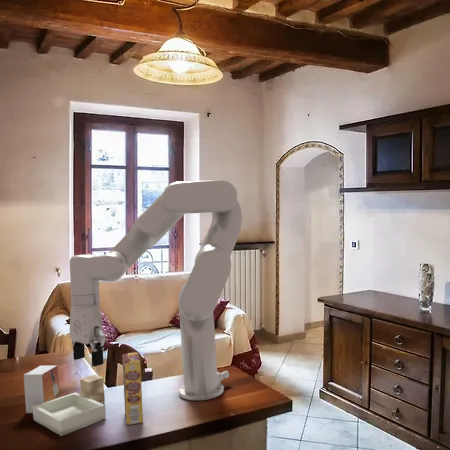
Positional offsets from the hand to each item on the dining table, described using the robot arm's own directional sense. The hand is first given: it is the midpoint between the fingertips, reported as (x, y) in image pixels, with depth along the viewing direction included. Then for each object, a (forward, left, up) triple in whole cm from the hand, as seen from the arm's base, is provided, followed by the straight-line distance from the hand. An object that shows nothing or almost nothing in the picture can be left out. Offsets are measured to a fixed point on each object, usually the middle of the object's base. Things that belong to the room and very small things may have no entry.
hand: (88, 361), depth 134 cm
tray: (+9, +5, -12) cm, 15 cm away
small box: (+10, -9, -12) cm, 17 cm away
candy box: (-2, +18, -12) cm, 21 cm away
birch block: (0, 0, -12) cm, 12 cm away
